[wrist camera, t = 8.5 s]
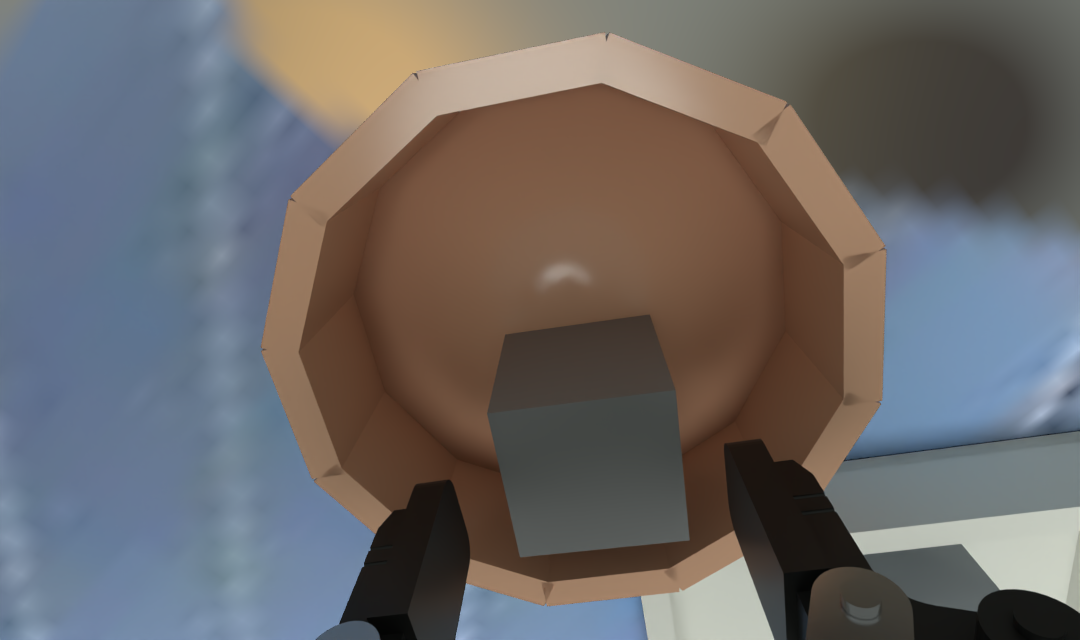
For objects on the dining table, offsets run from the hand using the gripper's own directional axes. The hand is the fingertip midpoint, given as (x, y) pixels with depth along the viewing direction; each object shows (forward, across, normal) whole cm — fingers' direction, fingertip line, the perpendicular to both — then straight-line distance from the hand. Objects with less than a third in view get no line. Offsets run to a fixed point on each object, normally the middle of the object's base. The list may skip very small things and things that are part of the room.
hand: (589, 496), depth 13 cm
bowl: (+6, 0, -2) cm, 6 cm away
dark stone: (+5, 0, 0) cm, 5 cm away
